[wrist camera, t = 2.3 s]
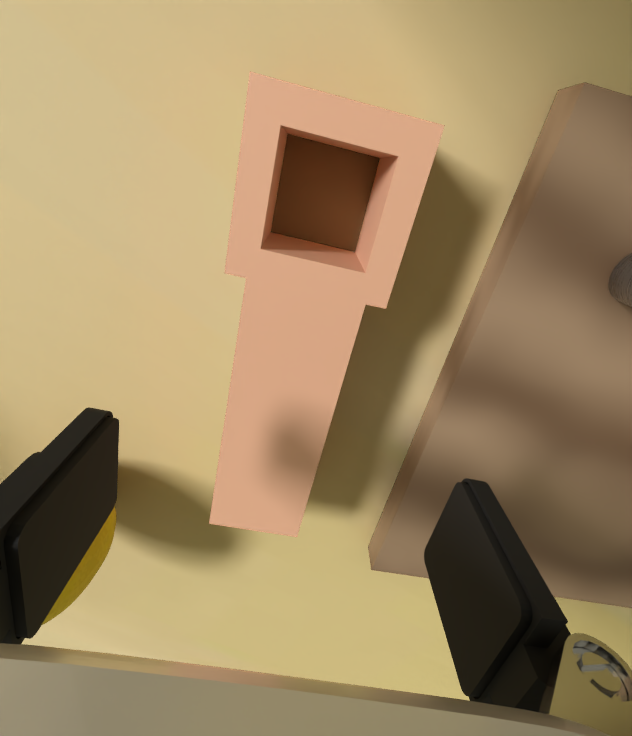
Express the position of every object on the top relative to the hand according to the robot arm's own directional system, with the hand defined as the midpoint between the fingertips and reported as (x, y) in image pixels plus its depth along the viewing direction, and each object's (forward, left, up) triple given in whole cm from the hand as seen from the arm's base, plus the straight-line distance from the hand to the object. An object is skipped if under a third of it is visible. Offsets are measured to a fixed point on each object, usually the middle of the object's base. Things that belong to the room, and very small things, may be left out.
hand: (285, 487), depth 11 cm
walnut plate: (0, +15, -8) cm, 17 cm away
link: (-1, 0, -8) cm, 8 cm away
